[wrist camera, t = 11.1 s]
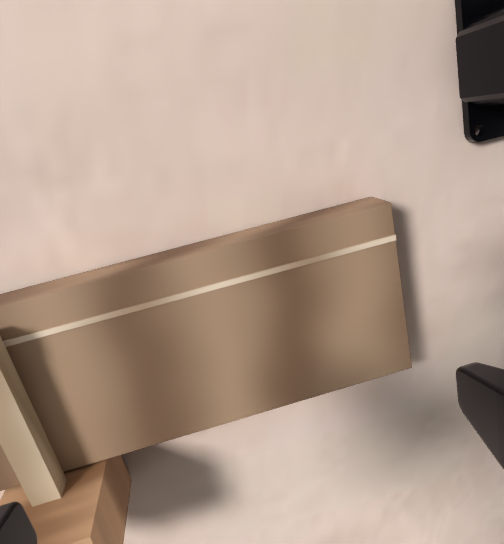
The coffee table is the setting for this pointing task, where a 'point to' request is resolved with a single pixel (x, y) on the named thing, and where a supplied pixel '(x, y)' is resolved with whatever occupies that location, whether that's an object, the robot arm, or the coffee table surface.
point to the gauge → (57, 476)
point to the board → (208, 332)
